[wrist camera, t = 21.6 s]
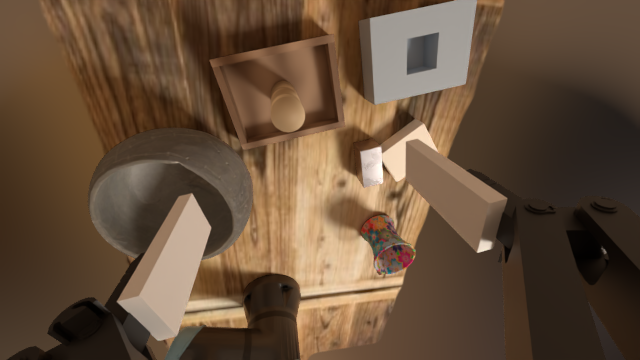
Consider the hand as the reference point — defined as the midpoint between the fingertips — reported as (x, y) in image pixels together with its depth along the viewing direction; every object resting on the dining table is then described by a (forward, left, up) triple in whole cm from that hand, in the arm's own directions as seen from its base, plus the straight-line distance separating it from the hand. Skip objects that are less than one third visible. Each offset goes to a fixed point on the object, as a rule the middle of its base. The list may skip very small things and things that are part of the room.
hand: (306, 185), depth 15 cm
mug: (+14, -37, -31) cm, 50 cm away
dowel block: (+22, +2, -31) cm, 38 cm away
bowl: (-19, -10, -31) cm, 38 cm away
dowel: (0, 0, -30) cm, 30 cm away
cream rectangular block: (+21, -16, -31) cm, 41 cm away
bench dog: (+13, -16, -31) cm, 37 cm away
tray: (0, 0, -31) cm, 31 cm away
